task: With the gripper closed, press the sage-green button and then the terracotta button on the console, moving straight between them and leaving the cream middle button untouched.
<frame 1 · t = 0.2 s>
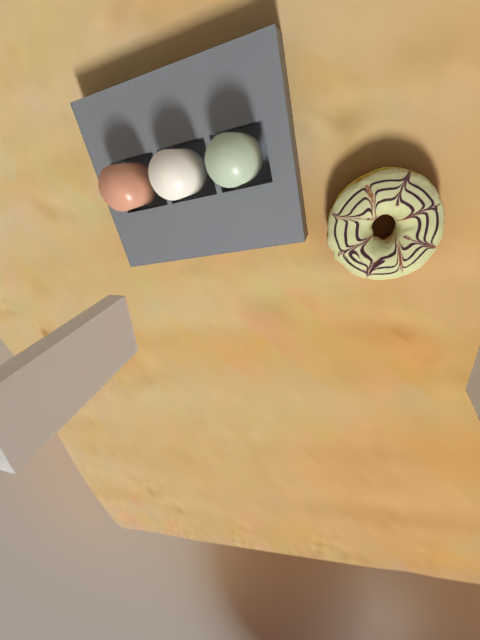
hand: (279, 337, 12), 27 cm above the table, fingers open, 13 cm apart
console: (198, 169, 37), on the table
sage button: (235, 159, 31), point 5 cm above the table, slide at 0.0 cm
cream button: (178, 173, 33), point 5 cm above the table, slide at 0.0 cm
decorated donut: (380, 222, 35), on the table
terracotta button: (129, 186, 35), point 5 cm above the table, slide at 0.0 cm
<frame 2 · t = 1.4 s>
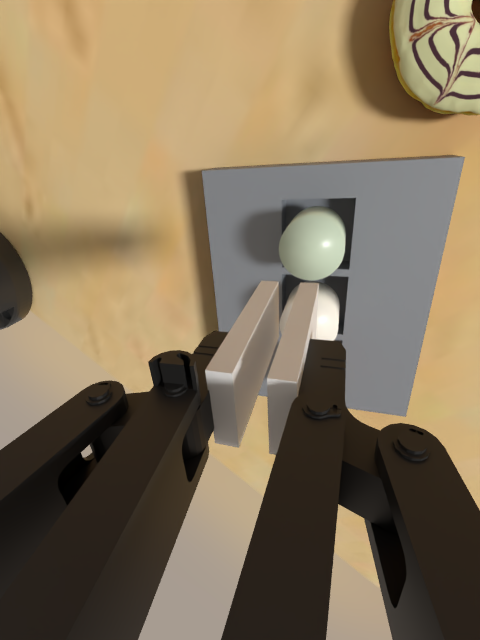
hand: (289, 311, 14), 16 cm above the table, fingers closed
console: (316, 291, 31), on the table
sage button: (313, 242, 24), point 5 cm above the table, slide at 0.0 cm
cream button: (310, 315, 27), point 5 cm above the table, slide at 0.0 cm
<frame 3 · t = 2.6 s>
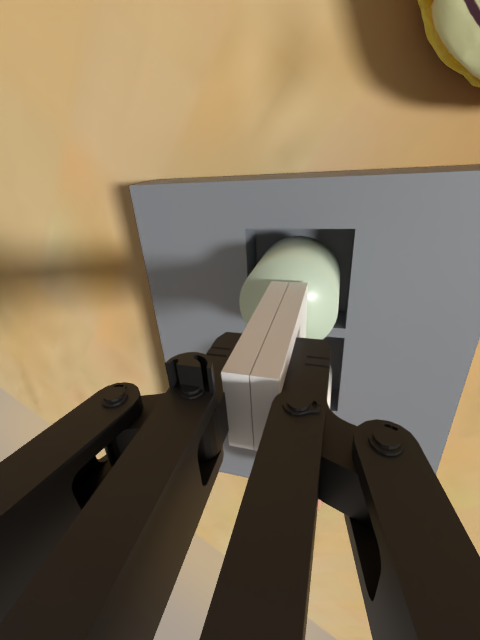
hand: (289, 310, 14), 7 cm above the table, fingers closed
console: (300, 345, 23), on the table
sage button: (293, 290, 16), point 4 cm above the table, slide at -0.7 cm, touching gripper
cream button: (290, 392, 19), point 5 cm above the table, slide at 0.0 cm
terracotta button: (289, 465, 21), point 5 cm above the table, slide at 0.0 cm
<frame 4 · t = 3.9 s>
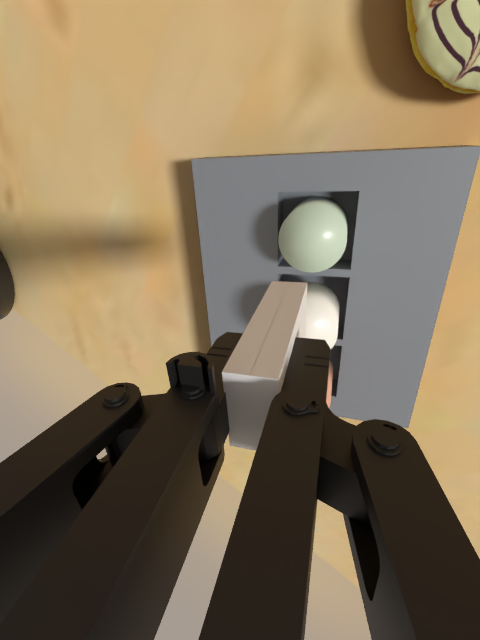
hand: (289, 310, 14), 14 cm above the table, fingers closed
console: (314, 292, 29), on the table
sage button: (314, 233, 23), point 3 cm above the table, slide at -1.6 cm
cream button: (308, 318, 25), point 5 cm above the table, slide at 0.0 cm
terracotta button: (304, 382, 27), point 5 cm above the table, slide at 0.0 cm
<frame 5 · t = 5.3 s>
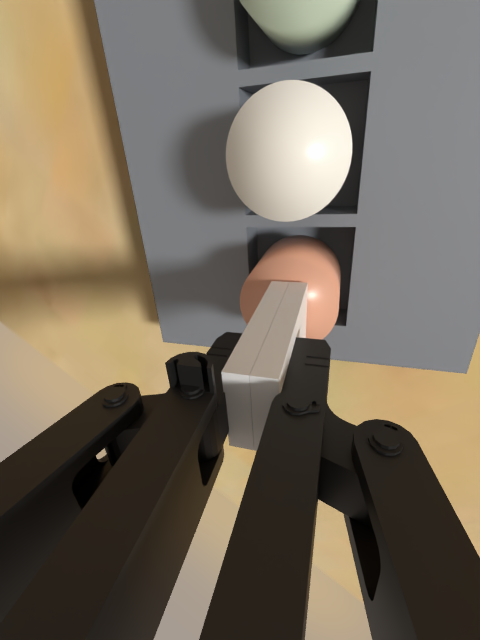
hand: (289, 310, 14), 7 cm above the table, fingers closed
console: (306, 150, 17), on the table
cream button: (293, 154, 13), point 5 cm above the table, slide at 0.0 cm
terracotta button: (293, 289, 16), point 5 cm above the table, slide at -0.5 cm, touching gripper
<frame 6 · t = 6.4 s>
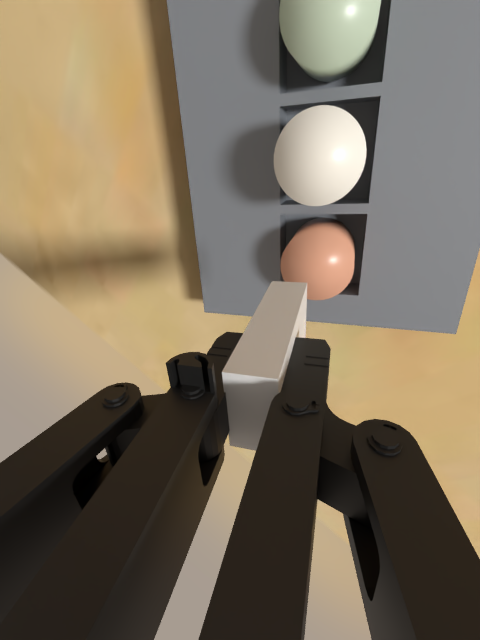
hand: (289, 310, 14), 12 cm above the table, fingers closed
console: (328, 154, 22), on the table
sage button: (331, 21, 16), point 3 cm above the table, slide at -1.6 cm
cream button: (321, 157, 18), point 5 cm above the table, slide at 0.0 cm
terracotta button: (319, 257, 22), point 3 cm above the table, slide at -1.6 cm
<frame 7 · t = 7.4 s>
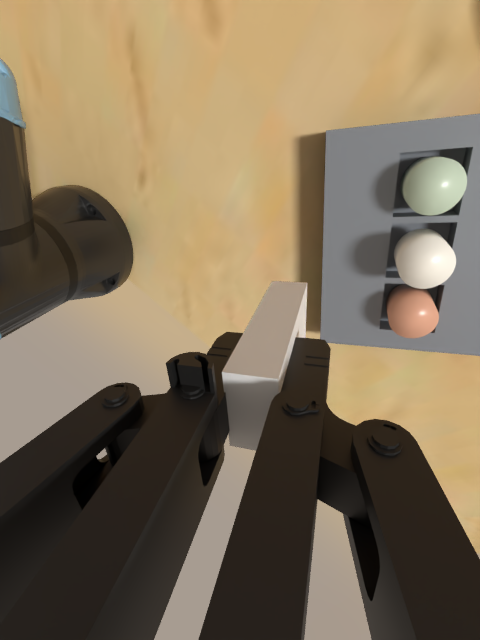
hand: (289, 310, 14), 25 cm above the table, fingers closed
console: (414, 243, 34), on the table
sage button: (430, 185, 29), point 3 cm above the table, slide at -1.6 cm
cream button: (422, 257, 30), point 5 cm above the table, slide at 0.0 cm
terracotta button: (410, 310, 34), point 3 cm above the table, slide at -1.6 cm
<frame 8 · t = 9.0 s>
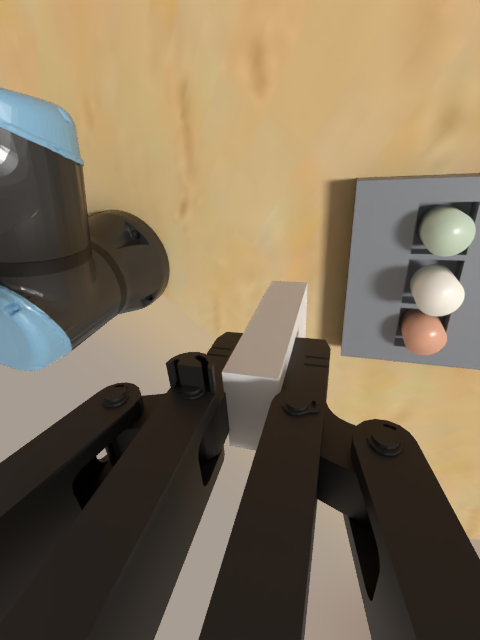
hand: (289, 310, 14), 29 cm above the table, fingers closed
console: (426, 273, 40), on the table
sage button: (444, 230, 34), point 3 cm above the table, slide at -1.6 cm
cream button: (435, 289, 36), point 5 cm above the table, slide at 0.0 cm
terracotta button: (421, 330, 40), point 3 cm above the table, slide at -1.6 cm
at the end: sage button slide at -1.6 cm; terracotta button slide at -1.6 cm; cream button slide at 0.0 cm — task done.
